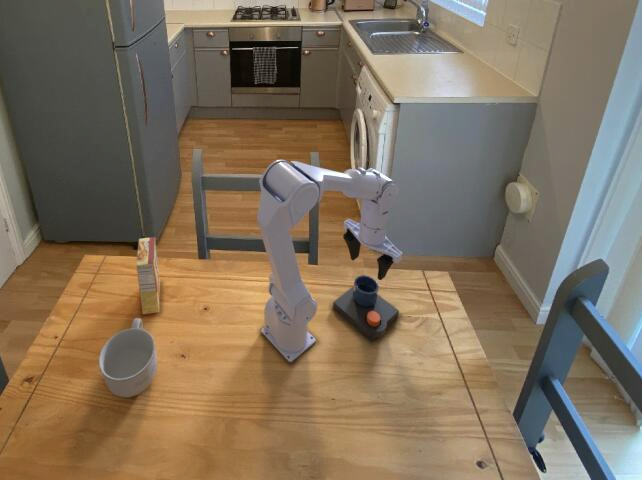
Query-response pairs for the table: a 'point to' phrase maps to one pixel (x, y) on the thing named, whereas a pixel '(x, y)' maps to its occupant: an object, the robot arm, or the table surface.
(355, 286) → the cup
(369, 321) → the tare button
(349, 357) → the table surface
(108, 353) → the teacup
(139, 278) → the candy box
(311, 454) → the table surface
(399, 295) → the table surface
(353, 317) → the scale
